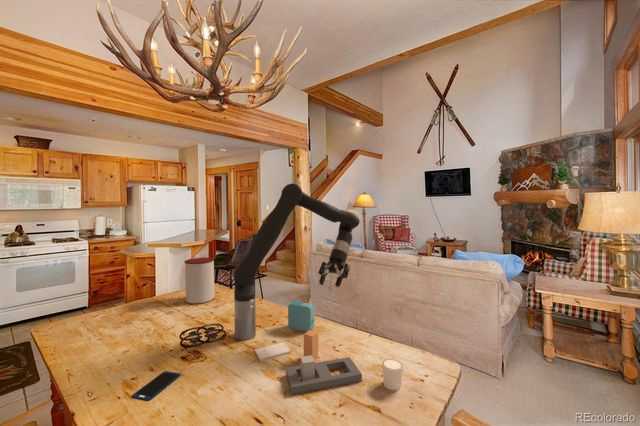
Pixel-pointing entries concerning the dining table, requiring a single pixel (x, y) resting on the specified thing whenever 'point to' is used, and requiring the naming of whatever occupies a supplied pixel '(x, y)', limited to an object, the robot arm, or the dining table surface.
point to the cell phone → (156, 386)
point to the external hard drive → (272, 351)
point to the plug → (311, 344)
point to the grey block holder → (321, 374)
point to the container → (199, 280)
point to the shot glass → (392, 373)
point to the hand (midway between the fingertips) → (328, 285)
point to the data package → (301, 316)
